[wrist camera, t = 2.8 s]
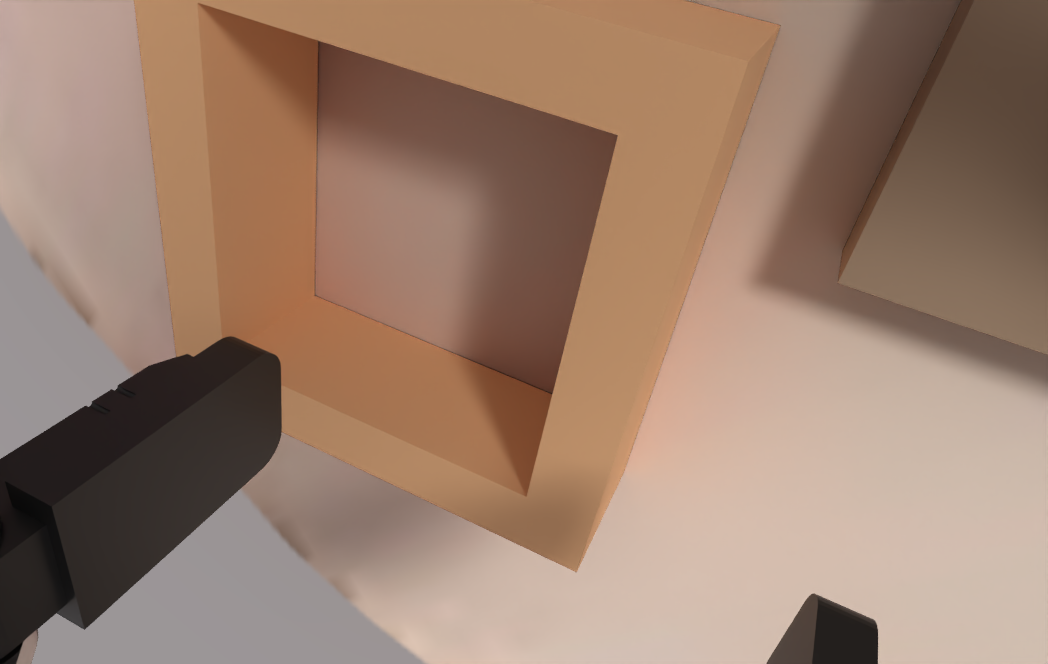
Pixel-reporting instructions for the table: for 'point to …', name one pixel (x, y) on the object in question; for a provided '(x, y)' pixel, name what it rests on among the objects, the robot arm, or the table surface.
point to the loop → (393, 356)
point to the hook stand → (968, 183)
